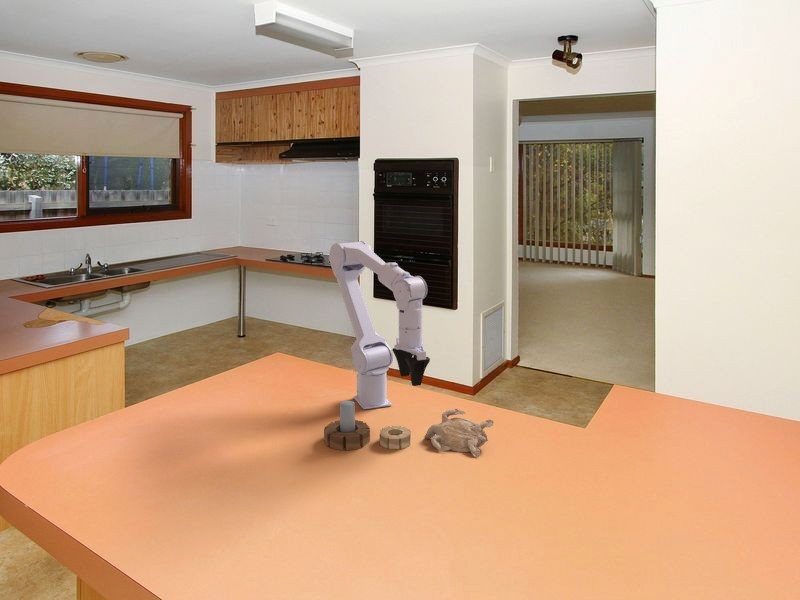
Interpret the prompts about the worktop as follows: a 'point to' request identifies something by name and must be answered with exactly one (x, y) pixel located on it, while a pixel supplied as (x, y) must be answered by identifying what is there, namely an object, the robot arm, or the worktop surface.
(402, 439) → the beige notched ring
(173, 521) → the worktop surface
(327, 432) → the brown segmented ring
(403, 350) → the robot arm
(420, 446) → the worktop surface
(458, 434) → the turtle
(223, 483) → the worktop surface
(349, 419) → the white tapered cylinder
